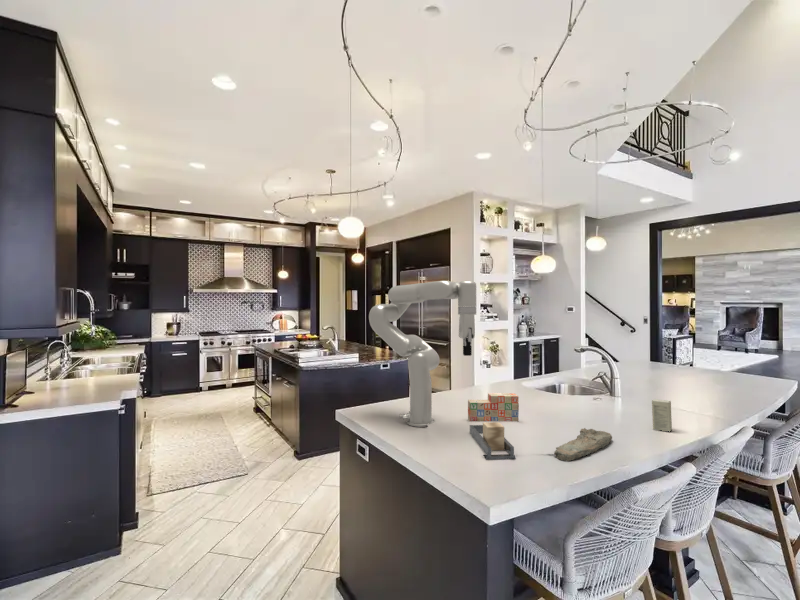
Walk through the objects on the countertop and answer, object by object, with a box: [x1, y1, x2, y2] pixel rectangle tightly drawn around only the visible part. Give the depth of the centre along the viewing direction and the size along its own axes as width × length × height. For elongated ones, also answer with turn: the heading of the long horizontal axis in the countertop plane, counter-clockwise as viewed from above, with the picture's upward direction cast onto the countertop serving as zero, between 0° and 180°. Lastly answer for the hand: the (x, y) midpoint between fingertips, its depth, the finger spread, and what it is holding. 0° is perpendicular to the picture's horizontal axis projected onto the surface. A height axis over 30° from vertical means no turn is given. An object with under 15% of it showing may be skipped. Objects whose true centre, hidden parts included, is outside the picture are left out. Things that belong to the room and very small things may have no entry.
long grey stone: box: [553, 427, 613, 462], centre depth 149 cm, size 35×5×10 cm
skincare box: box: [651, 398, 673, 433], centre depth 171 cm, size 6×4×12 cm
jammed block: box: [482, 421, 505, 451], centre depth 146 cm, size 6×6×8 cm
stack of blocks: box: [467, 392, 520, 423], centre depth 183 cm, size 21×6×12 cm, turn 89°
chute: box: [469, 424, 516, 461], centre depth 151 cm, size 10×26×4 cm, turn 4°
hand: (467, 355), depth 170 cm, fingers closed
